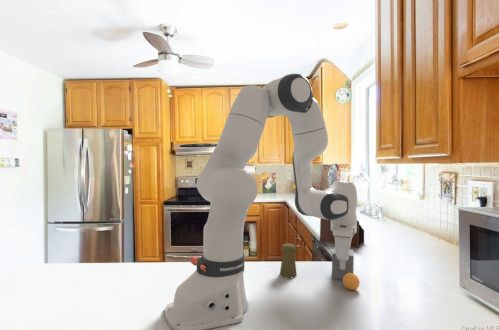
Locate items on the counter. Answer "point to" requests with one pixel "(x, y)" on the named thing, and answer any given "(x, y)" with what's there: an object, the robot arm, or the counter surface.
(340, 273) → the block
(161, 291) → the counter surface
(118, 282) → the counter surface
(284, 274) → the cork
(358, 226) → the letter holder
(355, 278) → the ball
